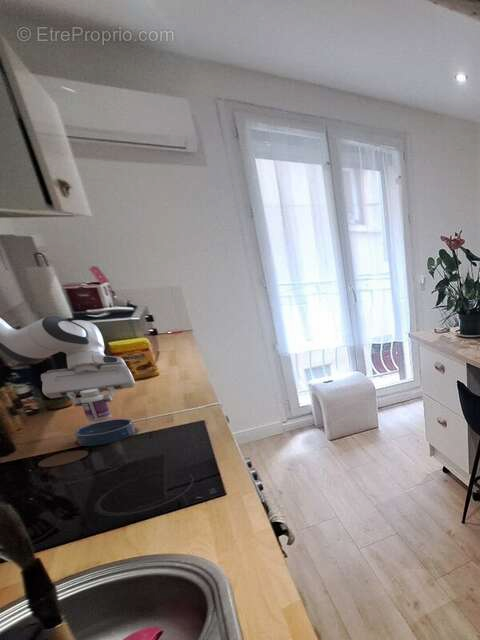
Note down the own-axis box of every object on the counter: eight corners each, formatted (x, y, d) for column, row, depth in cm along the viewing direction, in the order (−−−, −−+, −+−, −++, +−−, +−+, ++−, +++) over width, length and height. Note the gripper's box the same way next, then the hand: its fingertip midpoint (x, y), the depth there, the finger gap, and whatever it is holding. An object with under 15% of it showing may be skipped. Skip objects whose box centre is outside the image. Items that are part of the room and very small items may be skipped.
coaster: (38, 472, 113) (37, 470, 112) (38, 460, 119) (37, 458, 119) (90, 459, 120) (89, 457, 119) (87, 448, 126) (87, 447, 126)
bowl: (80, 451, 124) (75, 439, 123) (78, 438, 133) (73, 427, 131) (138, 437, 134) (134, 426, 132) (133, 426, 142) (129, 415, 140)
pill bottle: (112, 414, 134) (102, 386, 131) (110, 419, 130) (100, 391, 127) (89, 418, 131) (78, 389, 127) (86, 423, 127) (75, 394, 124)
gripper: (35, 366, 123) (39, 405, 120) (127, 356, 135) (134, 392, 132) (44, 376, 128) (49, 414, 124) (133, 366, 140) (139, 401, 136)
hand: (93, 403), depth 128 cm, fingers closed on pill bottle, 5 cm apart
